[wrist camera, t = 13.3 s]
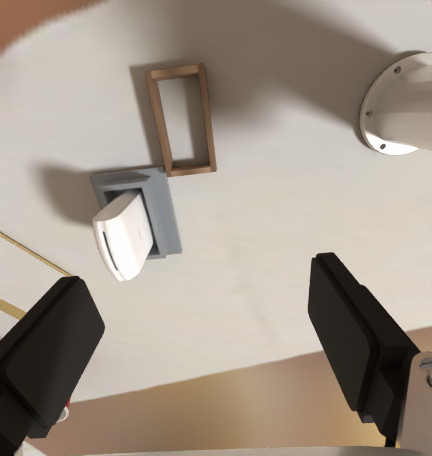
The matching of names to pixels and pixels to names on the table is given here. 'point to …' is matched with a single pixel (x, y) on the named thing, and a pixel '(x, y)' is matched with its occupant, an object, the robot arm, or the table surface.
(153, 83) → the wooden picture frame
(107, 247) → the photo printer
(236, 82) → the table surface
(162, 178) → the docking base
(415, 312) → the table surface
